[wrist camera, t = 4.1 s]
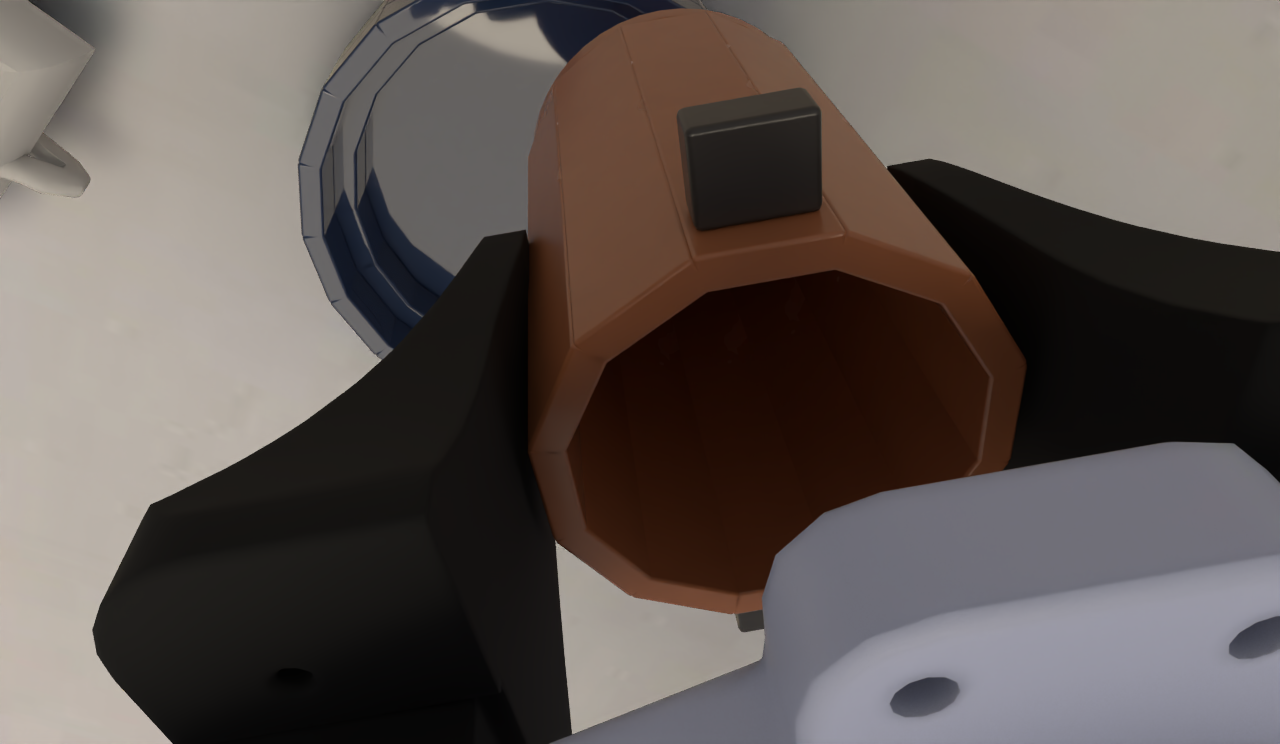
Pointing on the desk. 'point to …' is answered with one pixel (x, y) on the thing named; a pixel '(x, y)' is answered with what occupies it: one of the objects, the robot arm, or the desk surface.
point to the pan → (432, 145)
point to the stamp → (37, 99)
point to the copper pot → (735, 316)
